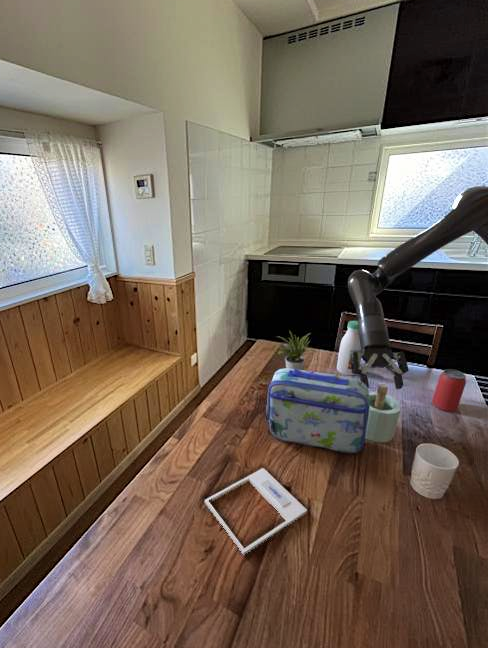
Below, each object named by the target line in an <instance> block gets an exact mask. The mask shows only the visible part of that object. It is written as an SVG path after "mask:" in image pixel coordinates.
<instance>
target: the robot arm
mask: <svg viewBox="0 0 488 648" xmlns="http://www.w3.org/2000/svg"><path fill="white" fill-rule="evenodd" d="M472 232H474V233H475V234H476V235H477V236H479V238H481V239H482V240H483V241H484V243H485V244H486V245H487V246H488V186H485V185H477V186H473V187H469V188H467V189H465V190H463V191H462V192H461V193H460V194H459V195H458V196H457V197H456V199H455V200H454V203H453V205H452V209H451V210H450V211H449V212H448V213H447V214H446V215H444V216H443V217H442V218H441V219H440V220H439V221H437V222H436V223H434V224H433V225H431V226H430V227H429V228H427V229H425V230H424V231H421V232H420V233H419V234H417V235H414V236H413V237H411V238H409V239H408V240H405V242H402V243H401V244H400V245H398V246H396V247H394V249H392V250H391V251H389V252H388V253H387V254H385V255H384V256H383V257H381V258H380V259H379V260H378V261H377V263H376V264H377V269H376V270H375V271H374V272H373V273H370V272H369V271H367V270H364V269H358V270H355V271H353V272H352V273H351V274H350V276H349V277H348V280H347V289H348V293H349V295H350V299H351V301H352V303H353V305H354V307H355V312H356V313H355V314H356V321H358V334H359V339H360V345H361V350H362V353H357V352H353V353H352V354H351V355H350V357H351V370H352V373H353V374H356V375H358V376H359V381H361V382H363V383H364V384H365V385H366V386H367V387H368V389H369V388H370V385H369V378H368V374H367V373H368V371H369V369H370V368H371V369H376V368H378V369H384V368H385V369H386V370H387V371H389V372H390V373H391V374H392V375H393V382H394V386H395V390H401V389H402V388H403V387H404V380H403V375H404V374H406V373H408V372H409V371H410V369H409V366H408V365H409V364H408V362H407V358H406V354H405V352H404V351H402V350H400V351H399V352H393V351H392V348H391V347H392V346H391V341H390V336H389V331H388V326H387V322H386V319H385V314H384V310H383V306H382V303H381V301H380V299H378V298H377V297H376V296H378V295H380V294H381V293H382V292H383V291H384V290H385V289H386V288H388V286H389V285H390V284H392V282H393V281H394V280H395V279H396V278H398V277H399V276H400V275H402V274H403V273H405V272H407V271H408V270H410V269H411V268H413V267H414V266H416V265H417V264H418V263H420V262H422V261H423V260H424V259H426V258H428V257H430V256H431V255H432V254H434V253H435V252H437V251H439V250H440V249H442V248H443V247H445V246H447V245H448V244H450V243H452V242H454V241H456V240H458V239H460V238H461V237H463V236H466V235H468V234H470V233H472ZM360 357H361V360H362V361H363V362H364V364H363V365H362V366H361V369H360V367H359V363H358V360H359V359H360ZM393 358H394V360H395V361H396V362H397V363H396V362H395V361H394V360H393Z"/></svg>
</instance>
